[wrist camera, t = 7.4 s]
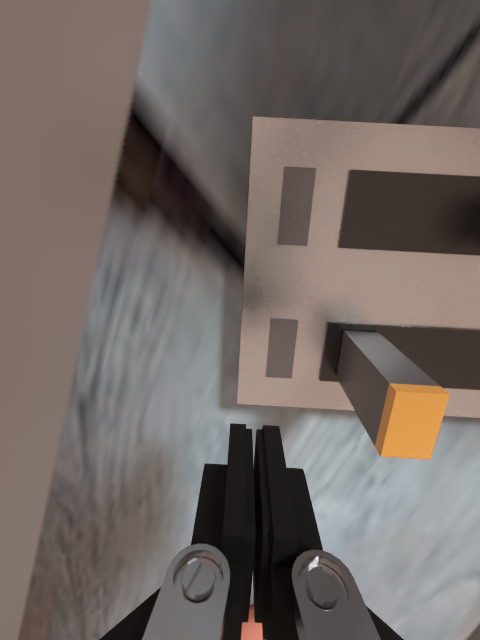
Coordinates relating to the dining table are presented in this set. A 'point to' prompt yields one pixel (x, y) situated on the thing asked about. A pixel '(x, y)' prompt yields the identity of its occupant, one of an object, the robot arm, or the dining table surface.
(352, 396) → the block
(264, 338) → the panel
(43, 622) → the dining table surface
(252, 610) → the sugar bowl
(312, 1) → the dining table surface
